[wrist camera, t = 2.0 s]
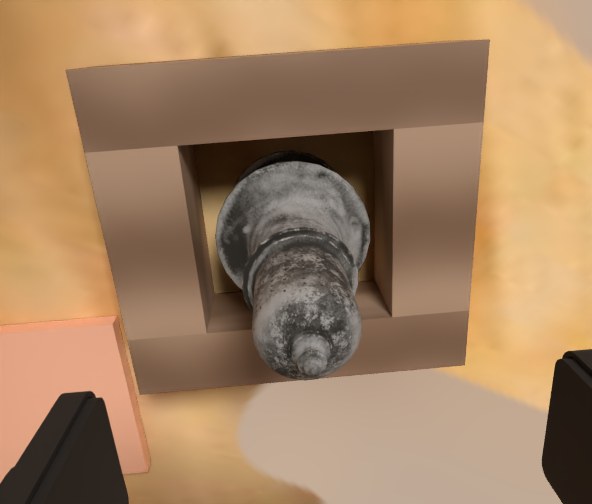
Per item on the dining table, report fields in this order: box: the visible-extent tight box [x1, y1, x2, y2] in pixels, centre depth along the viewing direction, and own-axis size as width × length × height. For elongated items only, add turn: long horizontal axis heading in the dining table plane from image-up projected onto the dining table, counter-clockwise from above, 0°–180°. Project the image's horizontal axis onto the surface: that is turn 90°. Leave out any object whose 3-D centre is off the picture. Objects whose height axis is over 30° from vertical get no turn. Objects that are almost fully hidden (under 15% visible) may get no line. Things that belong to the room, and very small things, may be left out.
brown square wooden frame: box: [66, 40, 490, 395], centre depth 21 cm, size 13×14×4 cm
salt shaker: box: [215, 151, 370, 380], centre depth 17 cm, size 6×6×12 cm
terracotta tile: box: [0, 316, 151, 483], centre depth 25 cm, size 9×9×1 cm
